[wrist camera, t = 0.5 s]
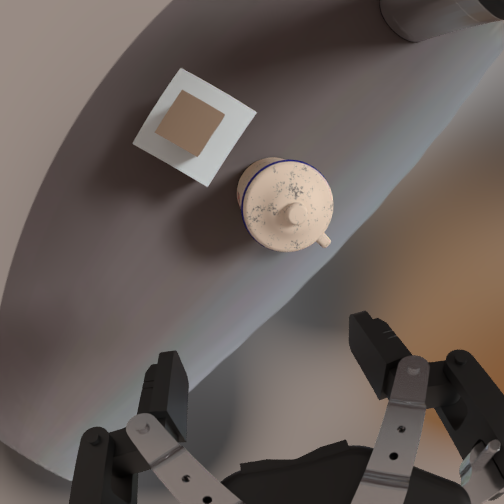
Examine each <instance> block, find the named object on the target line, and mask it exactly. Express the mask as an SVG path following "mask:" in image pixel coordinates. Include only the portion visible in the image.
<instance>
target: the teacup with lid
mask: <svg viewBox="0 0 504 504" xmlns="http://www.w3.org/2000/svg"><path fill="white" fill-rule="evenodd" d="M237 200H238V204H239V206H240V209H241V213H242V219H243V222H244V225H245V227H246V229H247V231H248V232H249V234H250V235H251V236H252V238H253V239H254V240H255V241H257V242H258V243H259V244H260V245H262V246H264V247H266V248H268V249H271V250H274V251H279V252H293V251H298V250H301V249H304V248H306V247H308V246H310V245H311V244H313V243H314V242H315V241H316V242H317V243H318V244H319V245H321V246H322V247H323V248H326V247H327V246H328V245H329V244H330V243H331V240H330V238H329V237H328V236H327V235H326V234H325V233H324V232H325V230H326V229H327V227H328V225H329V223H330V220H331V217H332V213H333V196H332V192H331V189H330V186H329V184H328V182H327V180H326V179H325V178H324V176H323V175H322V174H321V173H320V172H319V171H318V170H317V169H316V168H314V167H313V166H311V165H309V164H307V163H304V162H302V161H297V160H285V159H281V158H274V157H271V158H264V159H261V160H258V161H256V162H254V163H253V164H251V165H250V166H249V167H248V168H247V169H246V170H245V171H244V173H243V174H242V176H241V178H240V180H239V183H238V187H237Z"/></svg>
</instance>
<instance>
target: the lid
mask: <svg viewBox="0 0 504 504" xmlns="http://www.w3.org/2000/svg"><path fill="white" fill-rule="evenodd" d="M256 113H257V112H255V111H254V110H252V109H251V108H249V107H248V106H246V105H244V104H243V103H241V102H240V101H238V100H236V99H235V98H233V97H231V96H230V95H228V94H226V93H225V92H223V91H221V90H220V89H218V88H216V87H214V86H213V85H211V84H209V83H207V82H206V81H204V80H202V79H200V78H199V77H197V76H195V75H193V74H191V73H189V72H187V71H186V70H184V69H182V68H180V70H179V71H178V72H177V74H176V75H175V77H174V78H173V79H172V81H171V82H170V84H169V85H168V87H167V88H166V90H165V91H164V93H163V94H162V96H161V97H160V99H159V100H158V102H157V103H156V105H155V107H154V108H153V110H152V111H151V113H150V115H149V116H148V118H147V119H146V121H145V123H144V124H143V126H142V128H141V129H140V131H139V133H138V135H137V136H136V138H135V140H134V142H133V143H132V144H134V145H135V146H137V147H139V148H141V149H143V150H144V151H146V152H148V153H150V154H151V155H153V156H155V157H157V158H158V159H160V160H162V161H164V162H165V163H167V164H169V165H171V166H172V167H174V168H176V169H178V170H179V171H181V172H183V173H184V174H186V175H188V176H190V177H191V178H193V179H195V180H196V181H198V182H200V183H202V184H203V185H205V186H207V187H208V186H209V184H210V183H211V181H212V179H213V178H214V176H215V175H216V173H217V171H218V170H219V168H220V167H221V165H222V164H223V162H224V161H225V159H226V157H227V156H228V154H229V153H230V151H231V150H232V148H233V147H234V145H235V144H236V142H237V141H238V139H239V138H240V136H241V135H242V133H243V132H244V130H245V129H246V128H247V126H248V125H249V123H250V122H251V120H252V119H253V117H254V116H255V114H256Z"/></svg>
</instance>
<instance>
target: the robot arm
mask: <svg viewBox="0 0 504 504" xmlns="http://www.w3.org/2000/svg"><path fill="white" fill-rule="evenodd" d="M380 9H381V12H382V15H383V17H384V19H385V21H386V22H387V24H388V25H389V26H390V27H391V29H392V30H393V31H394V32H396V33H397V34H398V35H399V36H401V37H402V38H404V39H406V40H409V41H412V42H420V41H424V40H427V39H430V38H433V37H437V36H440V35H444V34H447V33H451V32H454V31H458V30H462V29H466V28H470V27H474V26H478V25H482V24H487V23H491V22H496V21H501V20H504V0H380ZM349 346H350V349H351V352H352V353H353V355H354V357H355V359H356V360H357V362H358V364H359V365H360V367H361V369H362V371H363V372H364V374H365V376H366V378H367V379H368V381H369V383H370V385H371V386H372V388H373V389H374V392H375V393H376V395H377V397H378V399H379V400H381V399H384V398H388V400H389V402H388V405H387V409H386V412H385V416H384V419H383V422H382V425H381V428H380V432H379V435H378V437H377V441H376V443H375V446H374V448H370V447H366V446H354V445H353V446H348V443H347V441H346V440H343V441H340V442H336V443H333V444H330V445H327V446H323V447H320V448H318V449H316V450H314V451H312V452H310V453H308V454H306V455H304V456H302V457H300V458H298V459H294V460H270V459H269V460H268V459H266V460H261V461H255V462H248V463H241V464H240V467H241V470H240V471H238V472H235V473H233V474H231V475H230V476H228V477H226V478H225V479H224V480H223V481H221V482H219V481H218V480H217V479H216V478H215V477H214V476H213V475H212V474H210V473H209V472H208V471H207V470H206V469H205V468H204V467H203V466H202V465H201V464H200V463H199V462H198V461H197V460H196V459H195V458H194V457H193V456H192V455H191V454H190V453H189V452H188V451H187V450H186V449H185V448H184V447H183V446H180V445H179V444H178V442H186V436H187V410H188V389H189V383H188V377H187V374H186V372H185V369H184V367H183V364H182V362H181V360H180V357H179V355H178V353H177V351H168V352H161V353H160V354H159V358H158V364H153V365H151V366H150V367H149V369H148V370H147V372H146V373H145V378H144V383H143V387H142V389H143V390H142V392H141V397H140V402H139V407H138V412H137V415H136V416H134V417H132V418H131V419H130V420H129V421H128V423H127V426H126V427H125V428H123V429H120V430H117V431H113V432H110V433H108V432H107V431H106V430H105V429H104V428H102V427H93V428H90V429H88V430H87V431H86V432H85V433H84V434H83V436H82V438H81V441H80V446H79V451H78V455H77V460H76V465H75V470H74V476H73V481H72V487H71V494H70V500H69V504H137V489H138V473H139V472H143V471H146V470H149V469H152V470H153V471H154V473H155V474H156V475H157V476H158V478H159V479H160V480H161V481H162V482H163V484H164V485H165V486H166V487H167V488H168V490H169V491H170V492H171V493H172V494H173V495H174V497H175V498H176V499H177V500H178V501H179V502H180V503H181V504H483V503H484V502H486V501H487V500H495V499H497V498H498V497H500V496H501V495H502V494H504V395H503V393H502V392H501V391H500V389H499V388H498V387H497V386H496V384H495V383H494V382H493V381H492V379H491V378H490V377H489V375H488V374H487V373H486V372H485V370H484V369H483V368H482V367H481V365H480V364H479V363H478V362H477V361H476V359H475V358H474V357H473V356H472V355H471V354H470V353H469V352H467V351H465V350H454V351H452V352H450V353H449V354H448V355H447V357H446V360H445V361H438V362H427V361H426V360H425V359H424V358H422V357H420V356H415V355H414V356H413V355H412V354H411V353H410V351H409V350H408V349H407V348H406V346H405V345H404V344H403V343H402V341H401V340H400V339H399V338H398V337H397V336H396V334H395V333H394V331H392V329H391V328H390V327H389V325H388V324H387V323H386V322H384V321H382V320H381V319H379V318H376V319H372V318H371V316H370V315H369V314H368V312H366V311H362V312H358V313H355V314H351V315H350V317H349ZM428 408H434V409H435V410H436V412H437V414H438V416H439V417H440V419H441V421H442V422H443V424H444V426H445V428H446V430H447V431H448V433H449V435H450V437H451V438H452V440H453V442H454V444H455V446H456V447H457V449H458V451H459V453H460V455H461V457H462V459H463V462H462V463H461V465H460V470H459V473H460V477H461V485H460V484H458V483H456V482H453V481H451V480H448V479H445V478H442V477H440V476H437V475H434V474H432V473H429V472H427V471H424V470H422V469H419V468H417V467H414V466H413V465H414V461H415V457H416V454H417V449H418V445H419V441H420V436H421V432H422V427H423V422H424V416H425V411H426V409H428Z"/></svg>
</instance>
